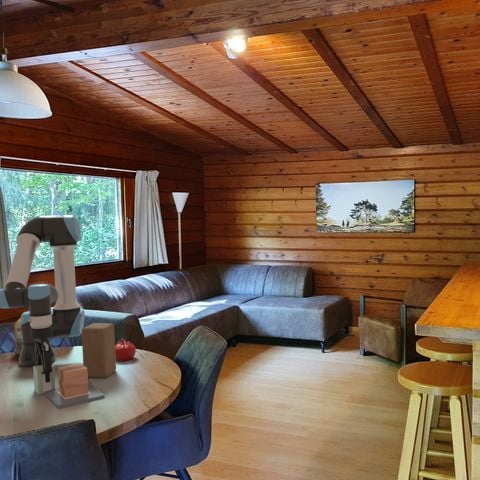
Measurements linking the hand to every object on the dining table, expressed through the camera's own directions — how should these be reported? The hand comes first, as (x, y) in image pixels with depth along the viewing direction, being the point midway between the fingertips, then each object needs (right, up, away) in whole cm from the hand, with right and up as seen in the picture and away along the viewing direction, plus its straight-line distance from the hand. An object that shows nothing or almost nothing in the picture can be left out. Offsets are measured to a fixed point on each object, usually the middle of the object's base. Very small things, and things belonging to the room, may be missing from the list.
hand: (45, 388), depth 190 cm
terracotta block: (+13, 0, -6) cm, 14 cm away
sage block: (0, -1, 0) cm, 1 cm away
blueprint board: (+13, -1, -6) cm, 14 cm away
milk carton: (-27, +1, +55) cm, 61 cm away
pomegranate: (+21, +2, +39) cm, 44 cm away
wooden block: (+16, 0, +18) cm, 24 cm away
